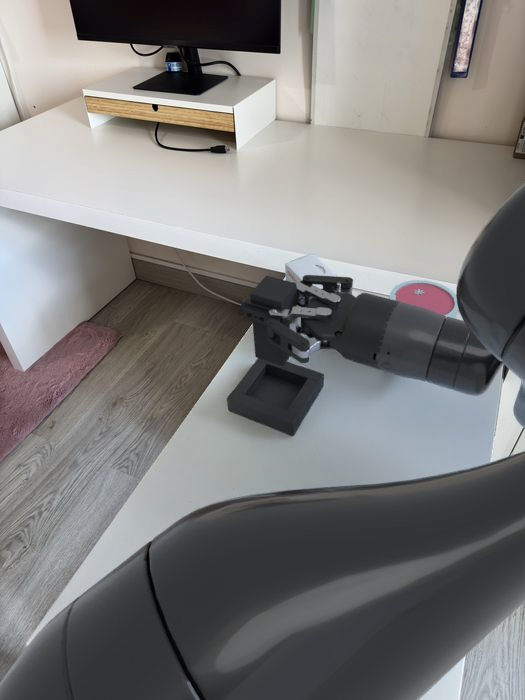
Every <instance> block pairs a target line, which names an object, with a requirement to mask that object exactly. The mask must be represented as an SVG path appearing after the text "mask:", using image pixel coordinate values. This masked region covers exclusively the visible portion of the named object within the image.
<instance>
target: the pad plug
mask: <svg viewBox="0 0 525 700" xmlns="http://www.w3.org/2000/svg"><path fill="white" fill-rule="evenodd" d="M249 299H250V300H252V301H256V302H259V303H263V304H266V305H270V306H272V308H281V309H291V308H292V307H294V306H295V307H297V284H296V283H293V282H289V281H286V279H281V278H277V277H274V276H270V275H265V276H264V277H263V279H261V280H260V282H259V283H258V284H257V285H256V286H255V287H254V289H253V290H252V291H250V293H249ZM251 322H252V331H253V332H252V334H253V345H254V346H253V347H254V356H255V358H257V359H258V358H260V359H263V360H266V361H269V362H272V363H275V364H277V365H280V366H284V365H285V363H286V362H288V360H289V359H290V358H291V356H290V355H288V354H287V353H285V352H284V351H282V350H281V349H279V348H278V347H276V346H275V345H274V344H272V343H271V342H269V341H268V340H267V325H264V324H261V323H257V322H255V321H252V320H251ZM280 322H286V323H289V320H287V319H280Z"/></svg>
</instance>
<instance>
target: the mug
mask: <svg viewBox="0 0 525 700" xmlns="http://www.w3.org/2000/svg"><path fill="white" fill-rule="evenodd" d="M388 299H392V300H396V301H399V302H403V303H407V304H411V305H415V306H419V307H422V308H425V309H428V310H431V311H433V312H436V313H438V314H441V315H444V316H446V317H451V318H455V319H457V317H458V312H459V309H458V305H457V297H456V292H454V291H453V290H452V289H451V288H449V287H447V286H446V285H443V284H442V283H439V282H436V281H431V280H425V279H415V280H407V281H404V282H403V281H402V282H401V283H399V284H397V285H396V286H394V287H393V288H392V289H391V291H390V293H389V297H388Z"/></svg>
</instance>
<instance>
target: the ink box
mask: <svg viewBox="0 0 525 700" xmlns="http://www.w3.org/2000/svg"><path fill="white" fill-rule="evenodd" d="M284 269H285V272H284V273H285V275H284V276H285V280H286V281H289V282H296V281H297V282H300V281H302V280H303V276H305V275H319V276H336V277H339V275H337V274H335V272H333V271H332V270H331V268H329V267H328V266H327V265H326V264H325V263H324V262H323V261H321V259H319V258H318V256H317V255H316V254H311V253H308V254H306V255H303V256H300V257H298V258H294V259H292V260H290V261H286V262H285V263H284ZM313 286H316V287H318V288H320V289H323V286H322V285H319V284H313ZM333 288H334V287H333ZM304 298H305V297H304ZM297 307H300V306H298V305H297ZM298 325H299V326H300V327H301V318H298ZM319 350H321V349H320V348H318V349H317V350H315V351H314V352H316V351H319Z"/></svg>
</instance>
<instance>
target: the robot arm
mask: <svg viewBox="0 0 525 700" xmlns="http://www.w3.org/2000/svg"><path fill="white" fill-rule="evenodd" d="M336 276H337V275H336ZM336 276H319V275H305V276H303V280H302V281H300V282H297V281H296V282H293V283H296V284H297V305H298V306H300V307H295V306H294V307H292V308H291V309H281V308H272V306H270V305H266V304H263V303H259V302H256V301H252V300H251V299H250V298H244V299H243V301H242V302H241V303H240V306H241V307H240V308H241V314H242V316H243V317H244V318H245V319H246V320H248V321H251V322H252V321H255V322H257V323H261V324H264V325H267V340H268V341H269V342H271V343H272V344H274V345H275V346H276V347H278V348H279V349H281V350H282V351H284V352H285V353H287V354H288V355H290V358H292V359H294V360H295V361H297V362H298V363H301V364H307V363H309V362H310V355H311V354H313V353H314V352H316V351H315V350H317V349H318V348H320V349H319V350H334V351H337V352H338V353H339V354H340V355H341V356H342V358H344V359H345V360H349V361H351V362H355V363H357V364H361V365H364V366H366V367H370V368H373V369H376V370H379V371H382V372H386V373H389V374H392V375H394V376H399V377H402V378H406V379H411V380H417V381H421V382H426V383H428V384H432V385H435V386H438V387H441V388H444V389H448V390H451V391H454V392H456V393H460V394H464V395H467V396H472V397H479V396H482V395H484V394H485V393H487V391H488V390H489V389H490V387H491V386H492V385H493V383H494V381H495V379H496V377H497V376H498V374H499V373H500V371H501V369H502V368H503V367H504V366H505V367H506V368H507V369H508V370H509V371H510V372H512V373H513V374H514V375H515V376H516V377H517V378H519V379H520V386H519V389H518V392H517V395H516V397H515V400H514V404H513V407H512V412H513V416H514V419H515V420H516V422H517V423H518V424H519V425H520V426H521V427H522V428H523V429H524V430H525V182H523V183H522V184H521V185H520V186H519V187H518V188H517V189H516V190H515V191H514V192H513V193H512V194H511V195H510V196H509V197H507V199H506V200H505V201H504V202H503V203H502V204H501V205H500V206H499V208H497V210H496V211H495V212H494V214H493V215H492V216H491V217H490V218H489V220H487V222H486V223H485V225H483V227H482V228H481V230H480V231H479V233H478V235H477V236H476V238H475V239H474V241H473V242H472V244H471V246H470V247H469V249H468V251H467V253H466V255H465V258H464V260H463V262H462V264H461V267H460V270H459V274H458V278H457V281H456V290H455V294H456V297H457V305H458V312H459V314H460V316H461V318H462V319H459V318H456V319H455V318H451V317H446V316H444V315H441V314H438V313H436V312H433V311H431V310H428V309H425V308H422V307H419V306H415V305H411V304H407V303H403V302H399V301H396V300H392V299H389V297H384V296H381V295H376V294H373V293H368V292H361V293H359V294H358V295H357V296H355V295H353V286H354V279H353V278H352V277H350V276H338V277H336ZM313 284H319V285H322V286H323V289H320V288H318V287H316V286H313ZM333 287H334V288H333ZM304 297H305V298H304ZM298 318H301V327H300V326H299V325H298ZM280 319H287V320H289V323H286V322H280ZM317 351H318V350H317ZM523 604H525V450H523V451H521V452H518V453H514V454H511V455H508V456H506V457H502V458H500V459H497V460H493V461H490V462H487V463H485V464H480V465H477V466H473V467H468V468H464V469H458V470H453V471H449V472H444V473H440V474H435V475H428V476H423V477H417V478H413V479H412V478H411V479H404V480H397V481H387V482H378V483H368V484H367V483H366V484H365V483H364V484H353V485H337V486H336V485H335V486H324V487H309V488H298V489H287V490H278V491H269V492H261V493H252V494H247V495H242V496H237V497H231V498H228V499H227V498H226V499H223V500H220V501H216V502H212V503H210V504H207V505H204V506H201V507H199V508H197V509H195V510H193V511H191V512H189V513H187V514H186V515H184V516H182V517H181V518H180V519H178V520H177V521H176V522H174V523H172V524H171V525H170V526H169V527H167V528H166V529H164V530H162V532H160V533H159V534H157V535H156V536H154V537H153V538H152V539H151V540H150V541H148V542H147V543H146V544H144V545H143V546H142V547H140V548H139V549H138V550H136V551H135V552H134V553H133V554H132V555H130V556H129V557H128V558H127V559H125V560H124V561H123V562H121V563H119V565H117V566H116V567H115V568H114V569H112V570H111V571H110V572H108V573H107V574H105V576H103V577H102V578H101V579H99V580H98V581H97V582H96V583H94V584H92V586H90V587H89V588H88V589H86V591H84V592H83V593H81V594H80V595H79V596H78V597H76V598H75V599H74V600H72V601H71V602H70V603H69V604H68V605H67V606H65V607H64V608H63V609H62V610H60V611H59V612H57V614H56V615H54V617H53V618H51V619H50V620H49V621H48V622H47V623H46V624H45V625H44V626H43V627H42V629H40V630H39V632H38V633H36V635H35V636H34V637H33V639H32V640H31V641H30V642H29V644H28V645H27V646H26V648H25V649H24V650H23V652H21V654H20V655H19V656H18V658H17V659H15V661H14V663H13V664H12V665H11V667H10V668H9V669H8V671H7V673H6V674H5V676H4V677H3V678H2V679H1V681H0V700H421V699H422V698H423V697H424V696H425V695H426V694H427V693H428V692H429V691H430V690H431V689H432V688H433V687H434V686H435V685H437V683H439V682H440V681H441V680H442V679H443V678H444V677H445V676H447V674H448V673H449V672H450V671H451V670H452V669H453V668H455V666H457V665H458V664H459V663H460V662H461V661H462V660H463V659H464V658H465V657H466V656H467V655H468V654H469V653H471V652H472V650H474V649H475V648H476V647H477V646H478V645H479V644H481V642H482V641H483V640H484V639H485V638H486V637H487V636H489V635H490V634H491V633H492V632H494V630H495V629H497V627H498V626H500V625H501V624H502V623H503V622H504V621H505V620H506V619H508V618H509V617H510V616H511V615H512V614H513V613H514V612H516V610H517V609H519V608H520V607H521V606H522V605H523Z"/></svg>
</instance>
